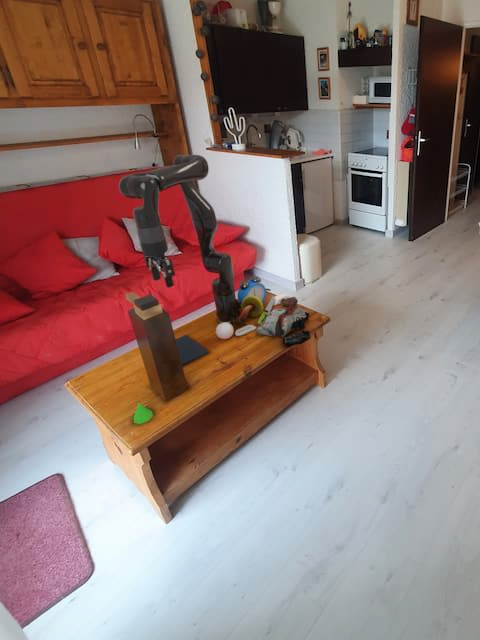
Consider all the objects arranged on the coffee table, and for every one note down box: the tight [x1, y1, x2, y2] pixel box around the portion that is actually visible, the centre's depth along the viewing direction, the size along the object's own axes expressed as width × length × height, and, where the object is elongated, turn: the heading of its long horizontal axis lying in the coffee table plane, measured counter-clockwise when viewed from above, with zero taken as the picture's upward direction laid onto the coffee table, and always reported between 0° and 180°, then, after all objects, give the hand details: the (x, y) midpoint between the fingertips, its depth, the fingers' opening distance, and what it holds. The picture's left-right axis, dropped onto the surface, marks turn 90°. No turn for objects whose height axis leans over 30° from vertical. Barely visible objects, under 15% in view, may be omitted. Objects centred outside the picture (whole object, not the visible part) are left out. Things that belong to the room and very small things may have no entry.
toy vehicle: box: [272, 292, 292, 307], centre depth 195 cm, size 12×2×4 cm
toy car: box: [282, 329, 312, 348], centre depth 162 cm, size 6×12×4 cm, turn 100°
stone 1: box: [255, 308, 287, 338], centre depth 174 cm, size 22×3×10 cm
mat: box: [175, 334, 209, 367], centre depth 157 cm, size 12×18×1 cm, turn 50°
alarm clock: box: [237, 275, 267, 305], centre depth 187 cm, size 13×6×15 cm, turn 143°
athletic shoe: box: [275, 305, 310, 338], centre depth 168 cm, size 12×25×12 cm
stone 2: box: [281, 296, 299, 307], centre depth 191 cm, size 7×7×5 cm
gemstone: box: [133, 403, 154, 425], centre depth 124 cm, size 6×6×6 cm
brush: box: [124, 291, 163, 320], centre depth 125 cm, size 6×18×5 cm, turn 50°
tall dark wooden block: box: [127, 307, 189, 403], centre depth 130 cm, size 8×12×32 cm, turn 50°
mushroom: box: [230, 295, 265, 326], centre depth 175 cm, size 12×12×15 cm
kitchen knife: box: [256, 295, 275, 326], centre depth 184 cm, size 22×1×3 cm
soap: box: [234, 324, 258, 337], centre depth 170 cm, size 10×4×1 cm, turn 135°
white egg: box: [215, 322, 235, 340], centre depth 164 cm, size 10×7×7 cm
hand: (163, 283), depth 130 cm, fingers open, 8 cm apart
